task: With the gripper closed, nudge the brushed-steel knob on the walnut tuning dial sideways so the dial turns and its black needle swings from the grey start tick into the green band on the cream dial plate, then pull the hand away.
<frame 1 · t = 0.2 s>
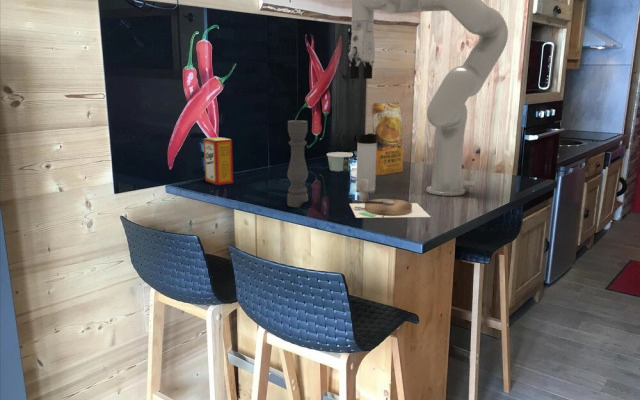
hand: (361, 78, 189), 37 cm above the table, tool pointing down, fingers open, 9 cm apart
travel mug: (365, 193, 180), on the table
food container: (340, 170, 225), on the table
candle holder: (297, 205, 162), on the table
baking soda box: (219, 182, 197), on the table
dial plate: (387, 215, 151), on the table
pancake mix bag: (387, 173, 218), on the table
dial: (382, 194, 150), point 6 cm above the table, hinge at -15.0°
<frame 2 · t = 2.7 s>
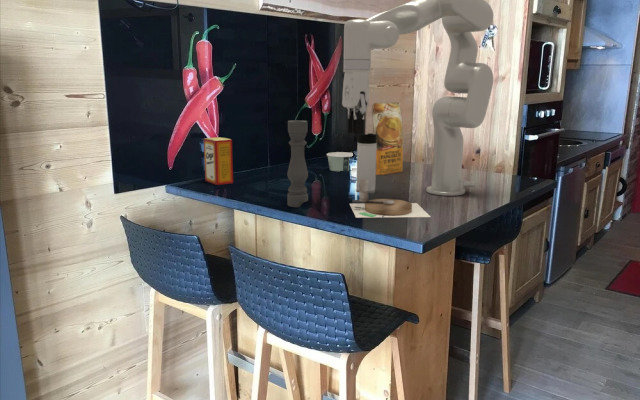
hand: (355, 132, 154), 22 cm above the table, tool pointing down, fingers open, 3 cm apart
nothing on the table moved.
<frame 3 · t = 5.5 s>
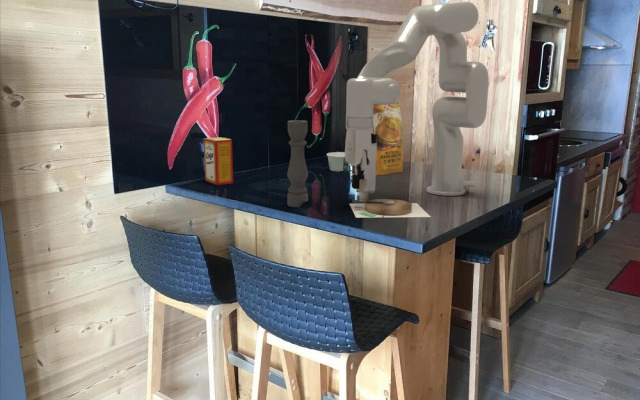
hand: (357, 188, 154), 7 cm above the table, tool pointing down, fingers closed
dial: (382, 194, 150), point 6 cm above the table, hinge at -14.6°, touching gripper
everything else where it was.
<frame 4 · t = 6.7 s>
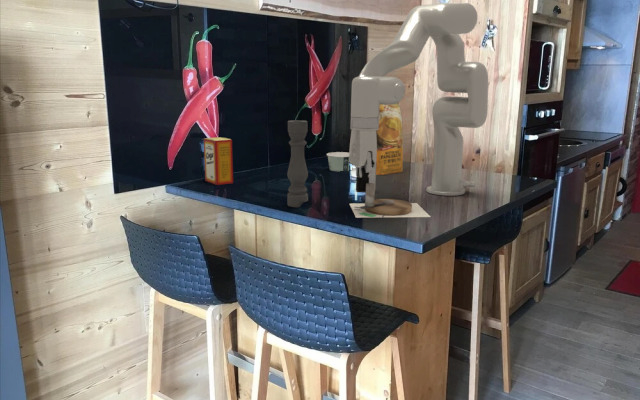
hand: (362, 191, 148), 7 cm above the table, tool pointing down, fingers closed
dial: (384, 195, 149), point 6 cm above the table, hinge at 34.1°, touching gripper
everything else where it was.
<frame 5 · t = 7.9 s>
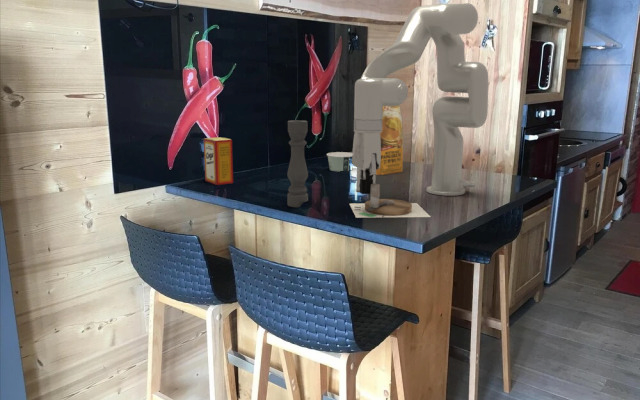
hand: (366, 193, 148), 7 cm above the table, tool pointing down, fingers closed
dial: (385, 196, 149), point 6 cm above the table, hinge at 48.0°
everything else where it was.
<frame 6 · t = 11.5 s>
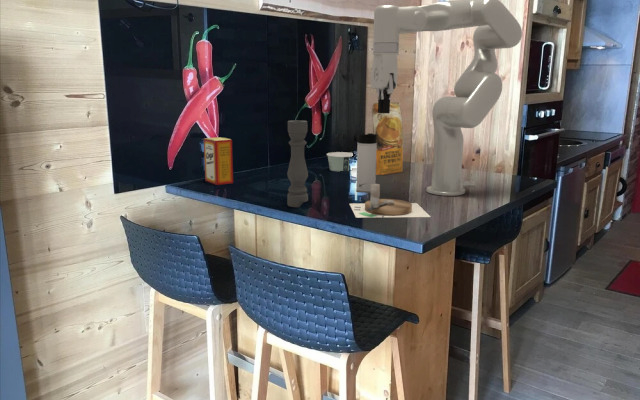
hand: (383, 113, 163), 27 cm above the table, tool pointing down, fingers closed
nothing on the table moved.
at the end: dial at +48° (first picture: -15°) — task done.
